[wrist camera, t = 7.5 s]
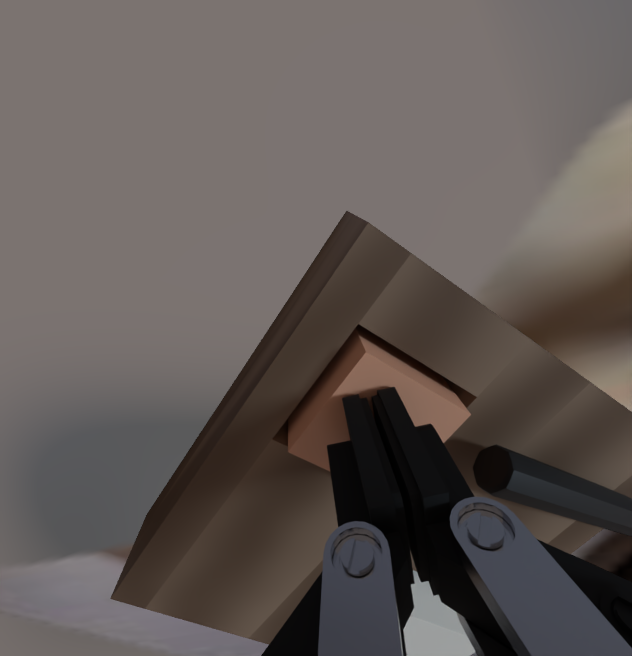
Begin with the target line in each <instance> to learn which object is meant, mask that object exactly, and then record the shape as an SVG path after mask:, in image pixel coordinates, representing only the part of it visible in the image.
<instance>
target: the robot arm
mask: <svg viewBox="0 0 632 656" xmlns="http://www.w3.org/2000/svg"><path fill="white" fill-rule="evenodd" d="M342 401H343V406H344V411H345V416H346V421H347V426H348V431H349V436H350V440H349V441H344V442H340V443H335V444H330V445H327V452H328V459H329V466H330V473H331V480H332V487H333V494H334V501H335V508H336V515H337V522H338V528H337V529H336V530H335V531H334V532H333V533H332V534H331V535H330V536H329V538H328V540H327V542H326V544H325V549H324V553H323V571H322V572H321V574H320V575H319V576H318V578H317V579H316V581H315V582H314V583H313V585H312V586H311V587H310V589H309V590H308V592H307V593H306V594H305V596H304V597H303V599H302V600H301V601H300V603H299V604H298V605H297V607H296V608H295V610H294V611H293V612H292V614H291V615H290V617H289V618H288V619H287V621H286V622H285V623H284V625H283V626H282V628H281V629H280V630H279V632H278V633H277V635H276V636H275V637H274V639H273V640H272V641H271V643H270V644H269V646H268V647H267V648H266V650H265V651H264V653H263V654H262V655H261V656H407V651H406V643H405V635H404V627H405V625H406V623H407V621H408V619H409V617H410V615H411V613H412V611H413V609H414V602H413V595H412V589H411V584H415V582H414V575H413V568H412V560H411V555H412V558H413V561H414V564H415V567H416V570H417V573H418V576H419V579H420V581H421V582H426V581H429V584H430V587H431V590H432V593H433V596H435V595H439V597H440V600H441V602H442V603H443V604H445V605H446V606H448V607H449V608H451V609H453V610H454V611H456V613H457V616H458V619H459V621H460V623H461V625H462V627H463V629H464V631H465V633H466V635H467V637H468V638H469V640H470V642H471V644H472V646H473V648H474V650H475V652H476V654H477V656H632V582H630V581H628V580H626V579H624V578H621V577H619V576H617V575H615V574H613V573H611V572H608V571H606V570H604V569H602V568H600V567H597V566H595V565H593V564H591V563H589V562H586V561H584V560H582V559H580V558H578V557H575V556H573V555H571V554H569V553H567V552H564V551H562V550H560V549H558V548H556V547H553V546H551V545H549V544H547V543H545V542H542V541H540V540H538V539H536V538H535V537H534V536H533V534H532V533H531V532H530V531H529V530H528V529H527V528H526V526H525V525H524V524H523V523H522V522H521V521H520V519H519V518H518V517H517V516H516V515H515V514H514V513H513V512H512V511H511V510H510V509H509V508H507V507H506V506H505V505H503V504H501V503H499V502H497V501H495V500H492V499H489V498H486V497H475V496H474V495H473V493H472V491H471V489H470V488H469V486H468V484H467V483H466V481H465V479H464V477H463V476H462V474H461V472H460V471H459V469H458V467H457V465H456V464H455V462H454V460H453V459H452V457H451V455H450V454H449V452H448V450H447V448H446V447H445V445H444V443H443V442H442V440H441V438H440V436H439V435H438V433H437V431H436V430H435V428H434V427H433V425H432V424H426V425H421V426H416V427H415V425H414V423H413V422H412V420H411V418H410V416H409V414H408V412H407V410H406V408H405V406H404V404H403V402H402V400H401V398H400V396H399V394H398V392H397V390H396V388H395V387H390V388H385V389H381V390H377V395H375V396H372V404H373V411H374V417H375V420H374V417H373V414H372V411H371V409H370V406H369V403H368V400H367V398H366V397H365V398H361V399H360V396H359V394H357V395H352V396H347V397H343V398H342ZM410 551H411V553H410Z"/></svg>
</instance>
